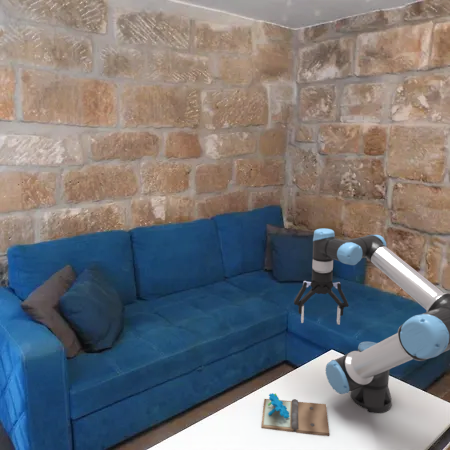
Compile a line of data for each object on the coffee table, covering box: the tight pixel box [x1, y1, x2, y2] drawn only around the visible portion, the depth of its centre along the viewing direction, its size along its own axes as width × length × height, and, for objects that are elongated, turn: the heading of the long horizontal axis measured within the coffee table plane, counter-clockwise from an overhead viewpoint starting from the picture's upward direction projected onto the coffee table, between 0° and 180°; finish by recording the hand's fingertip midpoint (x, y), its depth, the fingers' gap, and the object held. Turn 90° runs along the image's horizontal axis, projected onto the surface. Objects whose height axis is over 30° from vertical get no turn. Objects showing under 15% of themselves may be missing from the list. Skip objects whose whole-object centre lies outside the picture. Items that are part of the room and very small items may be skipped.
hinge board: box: [261, 398, 330, 437], centre depth 157 cm, size 23×16×2 cm
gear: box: [268, 392, 290, 418], centre depth 156 cm, size 11×6×10 cm
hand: (320, 322), depth 168 cm, fingers open, 13 cm apart
